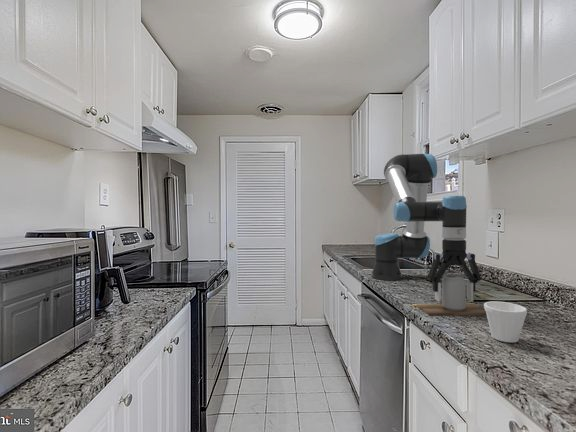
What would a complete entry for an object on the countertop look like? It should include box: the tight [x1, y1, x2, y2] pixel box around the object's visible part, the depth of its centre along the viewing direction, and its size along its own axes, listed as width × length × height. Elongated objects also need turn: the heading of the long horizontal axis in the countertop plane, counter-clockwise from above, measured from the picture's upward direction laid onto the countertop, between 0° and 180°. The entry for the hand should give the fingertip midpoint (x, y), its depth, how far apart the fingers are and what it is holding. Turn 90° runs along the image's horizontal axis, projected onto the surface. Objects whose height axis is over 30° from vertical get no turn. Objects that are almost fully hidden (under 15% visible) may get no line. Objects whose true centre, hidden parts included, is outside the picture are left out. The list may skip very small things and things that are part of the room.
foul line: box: [411, 302, 476, 307], centre depth 120 cm, size 1×24×1 cm, turn 91°
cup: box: [483, 300, 528, 344], centre depth 89 cm, size 10×10×9 cm
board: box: [416, 303, 487, 317], centre depth 114 cm, size 10×22×1 cm, turn 91°
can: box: [441, 273, 467, 311], centre depth 113 cm, size 8×8×12 cm
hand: (453, 300), depth 113 cm, fingers open, 11 cm apart
